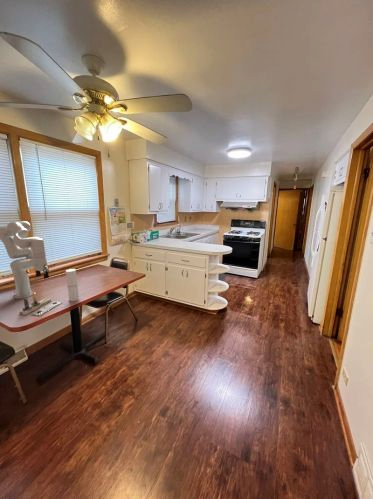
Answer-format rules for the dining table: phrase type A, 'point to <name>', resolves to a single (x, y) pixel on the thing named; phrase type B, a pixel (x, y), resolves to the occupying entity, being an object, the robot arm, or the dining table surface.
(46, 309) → the flange plate
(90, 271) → the dining table surface
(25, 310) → the divider rail
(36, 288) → the dining table surface
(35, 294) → the slide pin
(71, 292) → the cylindrical container
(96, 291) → the dining table surface
